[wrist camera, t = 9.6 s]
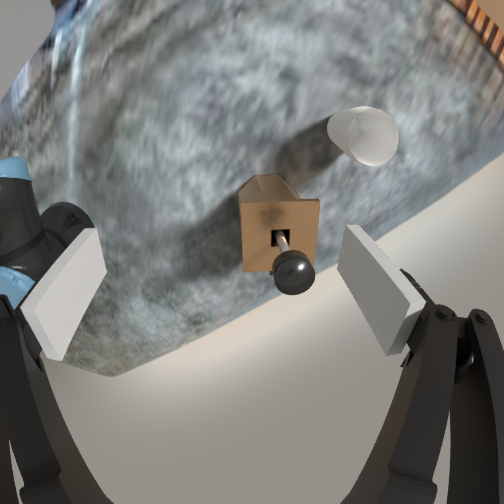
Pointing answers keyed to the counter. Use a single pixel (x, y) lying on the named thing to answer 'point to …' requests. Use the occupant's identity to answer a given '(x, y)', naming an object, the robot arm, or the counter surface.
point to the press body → (274, 221)
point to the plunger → (291, 268)
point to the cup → (364, 134)
